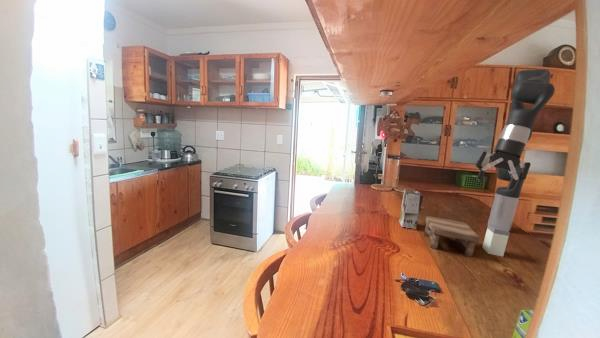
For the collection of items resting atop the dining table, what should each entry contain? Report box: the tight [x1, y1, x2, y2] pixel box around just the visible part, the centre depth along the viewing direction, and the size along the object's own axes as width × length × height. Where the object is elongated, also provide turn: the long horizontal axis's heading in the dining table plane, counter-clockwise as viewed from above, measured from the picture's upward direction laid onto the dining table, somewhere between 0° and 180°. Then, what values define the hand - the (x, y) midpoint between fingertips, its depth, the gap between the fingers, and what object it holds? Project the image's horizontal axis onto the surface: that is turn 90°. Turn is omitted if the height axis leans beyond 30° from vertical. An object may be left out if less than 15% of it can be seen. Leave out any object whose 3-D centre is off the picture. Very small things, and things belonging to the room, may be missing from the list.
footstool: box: [423, 215, 480, 258], centre depth 103 cm, size 15×15×8 cm
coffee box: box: [398, 188, 424, 230], centre depth 119 cm, size 9×6×16 cm
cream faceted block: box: [482, 223, 511, 257], centre depth 101 cm, size 6×5×10 cm
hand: (493, 185), depth 91 cm, fingers open, 8 cm apart
